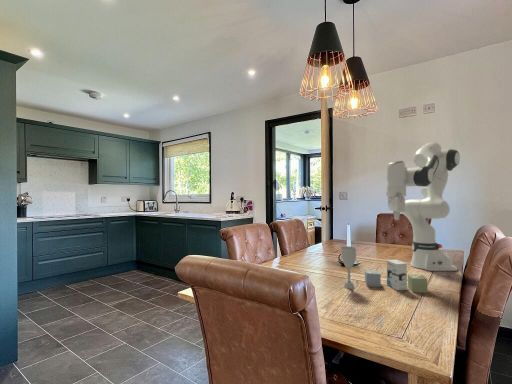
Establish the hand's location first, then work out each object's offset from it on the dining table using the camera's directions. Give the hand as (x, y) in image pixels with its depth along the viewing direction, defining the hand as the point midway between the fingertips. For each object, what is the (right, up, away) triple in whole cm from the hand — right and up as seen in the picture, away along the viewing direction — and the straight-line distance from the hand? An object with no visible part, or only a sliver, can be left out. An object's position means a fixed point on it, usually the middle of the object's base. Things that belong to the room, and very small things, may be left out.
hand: (396, 219), depth 147 cm
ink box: (-8, -29, -16) cm, 34 cm away
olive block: (0, -29, -19) cm, 35 cm away
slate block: (-17, -29, -11) cm, 36 cm away
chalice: (-29, -30, -14) cm, 44 cm away
